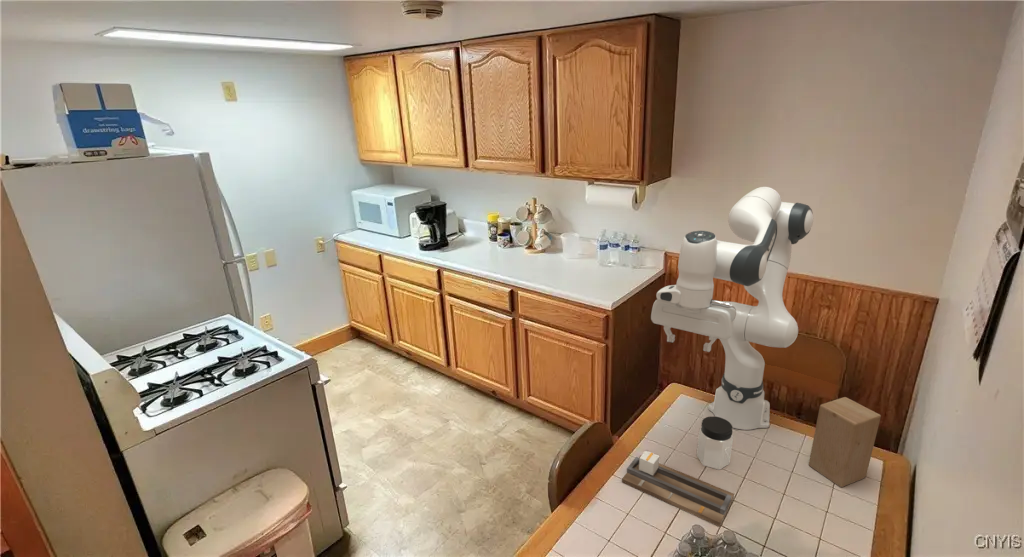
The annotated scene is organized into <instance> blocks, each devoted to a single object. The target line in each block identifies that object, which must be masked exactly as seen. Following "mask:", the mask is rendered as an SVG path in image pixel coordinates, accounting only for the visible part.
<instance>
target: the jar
mask: <svg viewBox="0 0 1024 557" xmlns="http://www.w3.org/2000/svg"><path fill="white" fill-rule="evenodd" d="M700 426H701V427H700V428H699V429H698V430H699V431H698V438H697V439H698V440H697V447H696V448H697V449H696V457H697V458H698V460H699V461H700V462H701V464H702V466H703V467H708V468H712V469H715V470H722V469H723V468H725V467H726V466H728V465H730V463H731V455H732V449H733V442H734V441H733V440H734V435H733V429H734V428H733V427H732V425H731V423H730V422H728V421H727V420H725V419H723V418H720V417H715V415H714V416H712V415H711V416H706V417H704V418H703V419H702V420H701V425H700Z"/></svg>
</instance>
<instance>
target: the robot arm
mask: <svg viewBox="0 0 1024 557" xmlns="http://www.w3.org/2000/svg"><path fill="white" fill-rule="evenodd" d="M727 219H728V220H727V221H728V225H729V227H730V230H731V231H732V233H733V234H734V235H735V236H736V237H738V238H739V239H742V240H745V241H747V242H748V241H749V242H752V243H753V244H743V243H736V242H729V241H725V240H724V241H723V240H719V239H717V235H716V234H715V233H713V232H712V231H707V230H694V231H690V232H688V233H686V234H685V235H684V236H683V239H682V242H681V246H680V249H679V255H678V256H679V257H678V265H677V270H678V278H677V279H676V284H671V285H670V284H669V285H667V286H664V287H662V288H660V289H659V290H658V291H657V292H656V294H655V295H656V299H655V301H654V302H653V305H652V308H651V314H650V320H651V322H652V323H653V324H656V325H660V326H663V330H664V332H665V333H664V334H665V335H666V342H667V343H672V344H673V343H674V342H675V340H676V338H675V337H676V335H675V334H673V332H672V330H671V328H673V329H677V330H680V331H686V332H689V333H694V334H698V335H702V336H706V337H708V340H709V342H704V344H703V348H702V351H704V352H708V353H710V352H711V351H712V345H713V344H714V343H715V341H716V340H717V339H719V340H720V342H721V344H722V346H723V350H724V353H725V354H724V356H725V362H724V363H725V364H724V373H723V374H722V378H721V385H720V386H719V387H718V388H717V387H716V390H715V392H714V393H715V394H714V401H712V402H711V403H709V404H708V406H707V409H708V410H709V411H710V412H711V413H713V415H714V416H715V417H720V418H723V419H725V420H727V421H728V422H730V423H731V425H732V427H733V429H737V430H743V431H744V430H745V431H746V430H755V429H767V428H770V412H771V411H770V408H771V406H770V402H769V401H768V400H766V399H765V391H764V381H763V379H764V371H765V365H766V363H765V360H764V358H763V355H762V354H761V353H760V352H759V351H758V350H757V349H755V348H754V347H753V346H752V345H751V344H750V343H753V344H758V345H761V346H766V347H771V348H785V349H786V348H789V347H790V346H791V345H792V344H793V343H794V342H795V341H796V339H797V337H798V334H799V327H798V326H799V325H798V322H797V321H796V319H795V318H794V317H793V315H791V313H790V312H789V311H788V310H787V307H786V306H785V303H784V299H783V291H784V286H785V283H786V282H785V280H786V277H787V274H788V271H789V267H790V262H791V259H792V250H793V248H792V245H796V244H797V243H798V242H799V241H800V240H802V239H803V238H804V239H805V237H806V236H807V235H808V234H809V233H810V231H811V229H812V227H813V224H814V214H813V210H812V208H811V206H809V205H807V203H801V202H789V201H787V202H786V201H782V197H781V195H780V193H779V192H778V191H777V190H775V189H774V188H772V187H770V186H760V187H757V188H754V189H752V190H751V191H749V192H748V193H746V194H745V195H744V196H742V197H741V198H740V199H739V200H738V201H737V202H736V203H735V204H734V205H733V206H732V208H731V209H730V210H729V214H728V218H727ZM714 279H718V280H722V281H723V280H724V281H728V282H732V283H735V284H739V285H742V286H743V288H744V290H745V291H746V292H747V293H748V294H749V295H751V296H752V297H753V298H755V299H756V300H757V301H758V303H757V305H749V304H745V303H741V302H736V301H724V300H723V301H721V300H716V299H713V296H714V289H715V288H714V287H715V285H714V284H715V283H714Z"/></svg>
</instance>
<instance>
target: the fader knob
mask: <svg viewBox="0 0 1024 557" xmlns="http://www.w3.org/2000/svg"><path fill="white" fill-rule="evenodd" d="M639 457H640V456H639ZM659 463H660V455H658V454H655V453H653V452H650V451H648V450H645V451H643V453H642V455H641V457H640V460H639V470H640V471H641V472H643V473H646V474H648V475H650V476H653V477H654V475H655V474H656V472H657V469H658V468H659Z"/></svg>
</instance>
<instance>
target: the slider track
mask: <svg viewBox="0 0 1024 557" xmlns="http://www.w3.org/2000/svg"><path fill="white" fill-rule="evenodd" d="M641 456H642V455H639V456H635V458H634V459H633V460H632V462H630V464H629V465H628V466H627V467H626V473H625V474H624V476H623V477H622V478H621V483H622V484H625V485H627V486H629V487H631V488H634V489H636V490H638V491H639V492H642V493H645V494H647V495H648V496H651V497H654V498H656V499H658V500H660V501H663V502H665V503H667V504H669V505H671V506H673V507H675V508H678V509H679V510H682V511H684V512H686V513H689V514H691V515H692V516H695V517H696V518H697V517H698V518H700V519H701V520H704V521H706V522H708V523H710V524H713V525H715V526H718V527H720V528H721V525H722V523H723V521H724V519H725V517H726V515H727V512H728V510H729V508H730V507H731V504H732V502H733V500H734V498H735V497H734V496H735V493H734V492H731V491H728V490H726V489H723V488H721V487H718V486H717V485H713V484H711V483H709V482H706V481H705V480H701V479H699V478H697V477H694V476H692V475H689V474H687V473H684V472H682V471H679V470H677V469H675V468H673V467H669V466H667V465H665V464H662V463H660V462H659V468H658V469H657V472H656V474H655V475H654V477H653V476H650V475H648V474H646V473H643V472H641V471H640V470H639V460H640V457H641Z"/></svg>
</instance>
